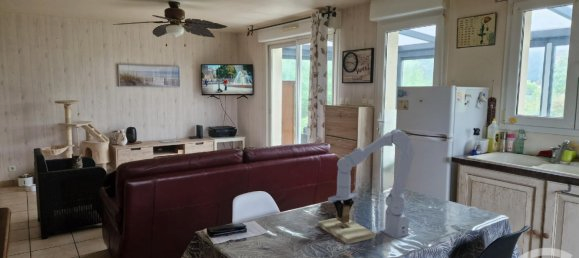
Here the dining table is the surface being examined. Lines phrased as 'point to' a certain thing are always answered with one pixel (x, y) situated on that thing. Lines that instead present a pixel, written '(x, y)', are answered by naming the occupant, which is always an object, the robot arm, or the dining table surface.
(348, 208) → the walnut flat peg
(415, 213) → the dining table surface
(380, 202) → the dining table surface
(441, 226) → the dining table surface
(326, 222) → the slot board
